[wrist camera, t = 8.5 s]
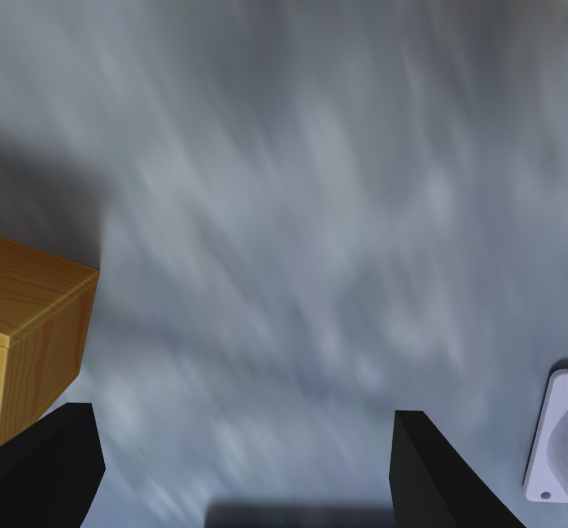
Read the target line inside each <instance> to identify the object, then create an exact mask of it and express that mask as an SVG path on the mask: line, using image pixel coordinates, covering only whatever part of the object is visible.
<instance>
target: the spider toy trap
mask: <svg viewBox="0 0 568 528" xmlns="http://www.w3.org/2000/svg"><path fill="white" fill-rule="evenodd" d="M99 273H100V271H98V270H95V269H93V268H90V267H87V266H84V265H81V264H78V263H75V262H72V261H69V260H66V259H63V258H60V257H57V256H54V255H52V254H49V253H46V252H43V251H40V250H37V249H34V248H31V247H28V246H25V245H22V244H19V243H16V242H13V241H11V240H8V239H5V238H2V237H0V446H1V445H3V444H4V443H6V442H7V441H9V440H10V439H12V438H13V437H15V436H16V435H18V434H19V433H21V432H22V431H24V430H25V429H27V428H28V427H30V426H31V425H33V424H34V423H36V422H37V421H38V420H39V418H40V417H41V416H42V415H43V414H44V413H45V412H46V411H47V410H48V408H49V407H50V406H51V405H52V404H53V403H54V402H55V401H56V400H57V398H58V397H59V396H60V395H61V394H62V393H63V392H64V391H65V390H66V388H67V387H68V386H69V385H70V384H71V383H72V382H73V381H74V380H75V378H76V377H77V376H78V375H79V370H80V364H81V359H82V354H83V349H84V345H85V340H86V335H87V330H88V325H89V320H90V315H91V310H92V305H93V300H94V296H95V291H96V286H97V280H98V278H99Z"/></svg>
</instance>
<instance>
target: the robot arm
mask: <svg viewBox="0 0 568 528" xmlns="http://www.w3.org/2000/svg"><path fill="white" fill-rule="evenodd" d="M105 470H106V467H105V463H104V458H103V453H102V449H101V444H100V440H99V435H98V430H97V426H96V421H95V417H94V412H93V407H92V403H66V404H64V405H62V406H61V407H59V408H57V409H56V410H54V411H52V412H51V413H49V414H48V415H46V416H45V417H43V418H42V419H40V420H39V421H37V422H36V423H34V424H33V425H31V426H30V427H28V428H27V429H25V430H24V431H22V432H21V433H19V434H18V435H16V436H15V437H13V438H12V439H10V440H9V441H7V442H6V443H4V444H3V445H1V446H0V528H80V526H81V524H82V522H83V520H84V519H85V517H86V515H87V513H88V511H89V508H90V506H91V504H92V501H93V499H94V497H95V495H96V492H97V490H98V487H99V485H100V482H101V480H102V477H103V475H104V472H105ZM389 482H390V488H391V495H392V501H393V507H394V513H395V519H396V525H397V528H526V527H525V526H524V525H523V524H522V523H521V522H520V521H519V520H518V519H517V518H516V517H515V516H514V515H513V514H512V512H511V511H510V510H509V509H508V508H507V507H506V506H505V505H504V504H503V503H502V502H501V501H500V500H499V499H498V498H497V497H496V495H495V494H494V493H493V492H492V491H491V490H490V489H489V488H488V487H487V485H486V484H485V483H484V482H483V481H482V480H481V479H480V478H479V477H478V476H477V474H476V473H475V472H474V471H473V470H472V469H471V468H470V467H469V465H468V464H467V463H466V462H465V461H464V460H463V458H462V457H461V456H460V455H459V454H458V453H457V451H456V450H455V449H454V448H453V447H452V445H451V444H450V443H449V442H448V441H447V439H446V438H445V437H444V436H443V435H442V433H441V432H440V431H439V430H438V429H437V427H436V426H435V425H434V424H433V422H432V421H431V420H430V419H429V418H428V416H427V415H426V414H425V413H424V412H423V411H406V410H395V419H394V430H393V440H392V451H391V461H390V472H389ZM523 493H524V495H525V497H526V498H527V499H528V500H529V501H534V502H560V503H568V369H559V370H557V371H555V372H554V373H553V374H552V375H551V377H550V380H549V384H548V388H547V392H546V396H545V400H544V404H543V408H542V412H541V416H540V421H539V425H538V429H537V433H536V437H535V441H534V445H533V449H532V453H531V457H530V461H529V465H528V469H527V473H526V477H525V481H524V485H523Z"/></svg>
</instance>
